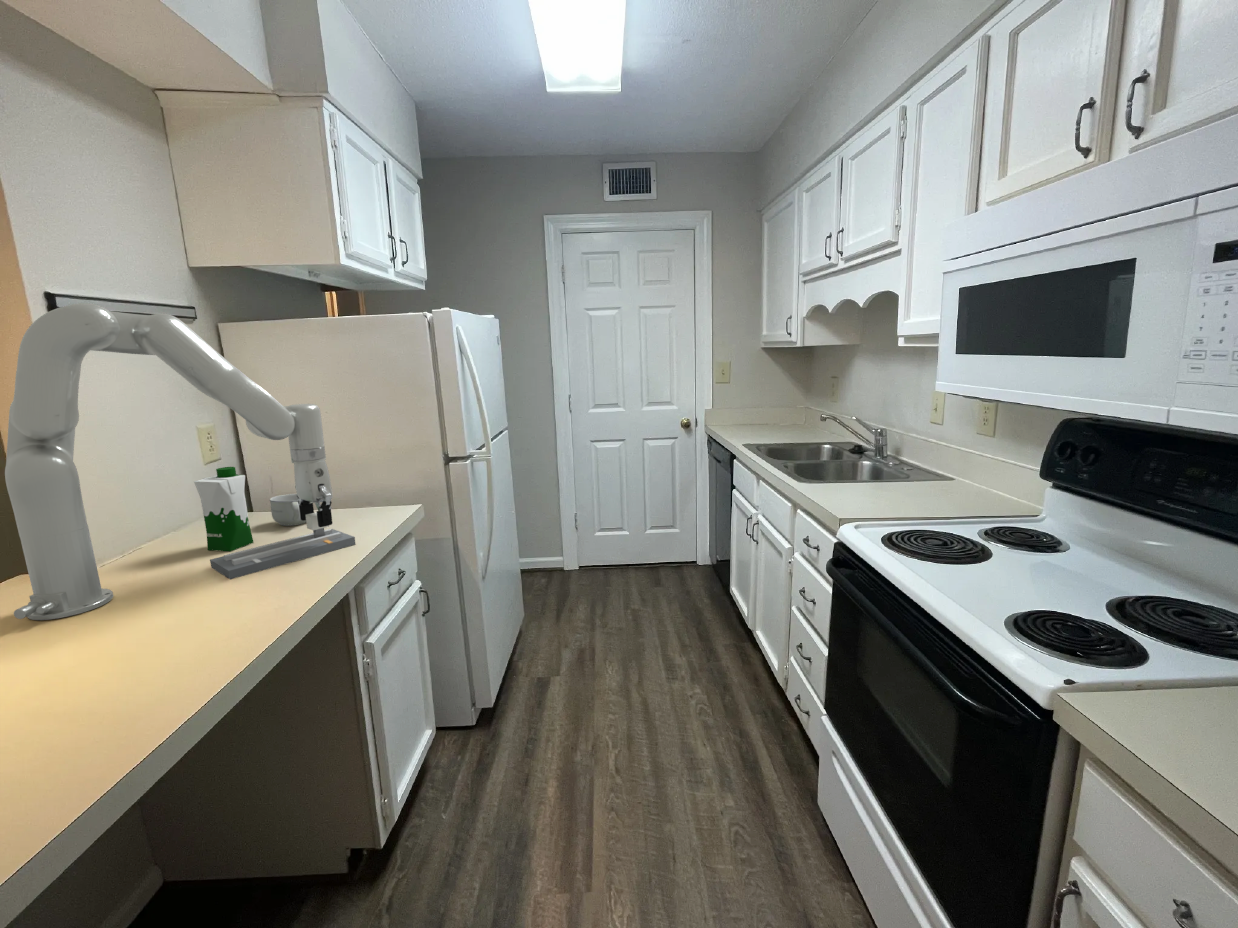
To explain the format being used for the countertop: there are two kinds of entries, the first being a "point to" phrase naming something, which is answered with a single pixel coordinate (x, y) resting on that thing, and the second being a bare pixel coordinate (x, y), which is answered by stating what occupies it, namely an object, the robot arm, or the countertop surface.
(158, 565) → the countertop surface
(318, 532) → the fader
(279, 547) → the fader panel
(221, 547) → the milk carton
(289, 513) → the teacup
